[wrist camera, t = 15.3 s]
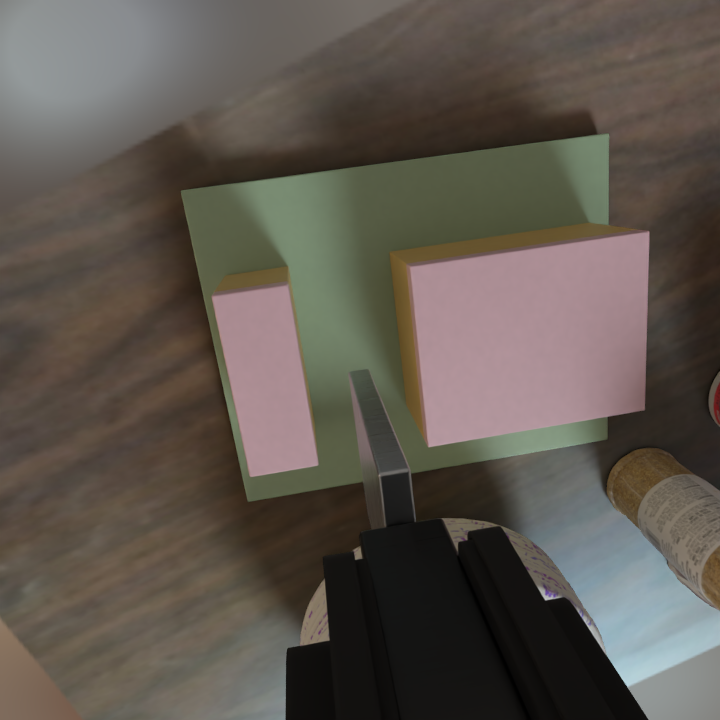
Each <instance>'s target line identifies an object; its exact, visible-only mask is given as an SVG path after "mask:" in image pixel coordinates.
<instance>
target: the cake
mask: <svg viewBox="0 0 720 720" xmlns="http://www.w3.org/2000/svg"><path fill="white" fill-rule="evenodd" d="M389 254H390V263H391V272H392V281H393V290H394V299H395V308H396V317H397V326H398V335H399V344H400V353H401V361H402V370H403V379H404V388H405V397H406V405H407V407H408V409H409V411H410V413H411V415H412V417H413V419H414V421H415V423H416V425H417V427H418V428H419V430H420V432H421V434H422V436H423V438H424V440H425V442H426V444H427V446H428V447H433V446H439V445H445V444H451V443H456V442H462V441H468V440H474V439H480V438H486V437H491V436H497V435H503V434H509V433H515V432H521V431H527V430H532V429H538V428H544V427H550V426H556V425H562V424H568V423H573V422H579V421H585V420H591V419H597V418H603V417H608V416H614V415H620V414H626V413H632V412H638V411H644V410H645V382H646V344H647V306H648V268H649V231H646V230H638V229H631V228H624V227H617V226H610V225H603V224H595V223H583V224H576V225H570V226H563V227H556V228H549V229H542V230H535V231H528V232H521V233H515V234H508V235H501V236H494V237H487V238H480V239H473V240H466V241H460V242H453V243H446V244H439V245H432V246H425V247H418V248H412V249H405V250H398V251H391V252H389Z"/></svg>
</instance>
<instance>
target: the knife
mask: <svg viewBox="0 0 720 720" xmlns="http://www.w3.org/2000/svg"><path fill="white" fill-rule="evenodd" d="M348 376H349V383H350V390H351V398H352V405H353V412H354V419H355V427H356V434H357V441H358V448H359V456H360V463H361V470H362V478H363V485H364V492H365V499H366V507H367V513H368V517H369V521H370V526H371V530H365V531H362V532H360V535H359V540H360V547H361V554H362V559H363V558H368V562H369V567H370V572H371V577H372V582H373V587H374V592H375V597H376V602H377V607H378V612H379V617H380V622H381V627H382V632H383V637H384V643H385V648H386V653H387V658H388V663H389V668H390V673H391V678H392V683H393V688H394V693H395V698H396V703H397V708H398V713H399V718H400V720H531V718H530V716H529V713H528V711H527V709H526V707H525V704H524V702H523V700H522V698H521V695H520V693H519V691H518V689H517V686H516V684H515V682H514V679H513V677H512V675H511V673H510V670H509V668H508V666H507V664H506V661H505V659H504V657H503V655H502V652H501V650H500V648H499V646H498V643H497V641H496V639H495V637H494V634H493V632H492V630H491V628H490V625H489V623H488V621H487V619H486V616H485V614H484V612H483V610H482V607H481V605H480V603H479V601H478V598H477V596H476V594H475V592H474V589H473V587H472V585H471V583H470V580H469V578H468V576H467V574H466V571H465V569H464V567H463V565H462V562H461V560H460V558H459V556H458V551H457V549H456V547H455V545H454V542H453V540H452V538H451V536H450V533H449V531H448V529H447V527H446V524H445V522H444V521H443V519H442V518H435V519H429V520H423V521H417V522H416V516H415V506H414V497H413V488H412V479H411V470H410V468H409V465H408V463H407V461H406V458H405V456H404V453H403V451H402V448H401V446H400V444H399V441H398V439H397V436H396V434H395V431H394V429H393V427H392V424H391V422H390V419H389V417H388V414H387V412H386V409H385V407H384V405H383V402H382V400H381V397H380V395H379V392H378V390H377V388H376V385H375V383H374V380H373V378H372V375H371V373H370V371H369V369H364V370H357V371H351V372H349V373H348Z"/></svg>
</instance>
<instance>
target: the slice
mask: <svg viewBox="0 0 720 720" xmlns="http://www.w3.org/2000/svg"><path fill="white" fill-rule="evenodd" d="M212 302H213V307H214V311H215V316H216V321H217V325H218V330H219V335H220V340H221V344H222V349H223V354H224V358H225V363H226V368H227V372H228V377H229V382H230V387H231V391H232V396H233V401H234V405H235V410H236V415H237V419H238V424H239V429H240V433H241V438H242V443H243V448H244V452H245V457H246V462H247V466H248V471H249V475H250V477H254V476H260V475H266V474H272V473H278V472H283V471H289V470H295V469H301V468H307V467H313V466H317V465H318V464H319V462H318V451H317V442H316V432H315V422H314V415H313V409H312V403H311V397H310V391H309V385H308V380H307V374H306V368H305V362H304V356H303V350H302V344H301V338H300V332H299V326H298V320H297V314H296V308H295V302H294V296H293V290H292V284H291V278H290V272H289V267H288V266H286V267H279V268H272V269H265V270H259V271H252V272H245V273H238V274H231V275H225V276H224V278H223V279H222V281H221V282H220V284H219V285H218V287H217V288H216V290H215V291H214V293H213V295H212Z"/></svg>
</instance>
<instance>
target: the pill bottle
mask: <svg viewBox="0 0 720 720" xmlns="http://www.w3.org/2000/svg"><path fill="white" fill-rule="evenodd" d="M709 410H710V413H711V416H712V418H713V420H714V421H715V422H716V424H717V425H718V426H719V427H720V371H719V373H718V374H717V376H716V377H715V379H714V381H713V383H712V386H711V389H710V393H709Z"/></svg>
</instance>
